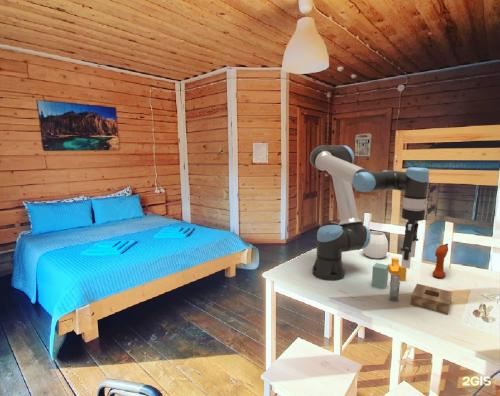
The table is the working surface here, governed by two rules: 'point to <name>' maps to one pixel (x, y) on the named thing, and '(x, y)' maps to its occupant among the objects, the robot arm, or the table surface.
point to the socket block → (431, 298)
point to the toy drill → (440, 260)
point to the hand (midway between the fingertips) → (408, 261)
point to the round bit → (394, 287)
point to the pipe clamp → (397, 269)
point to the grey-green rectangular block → (380, 275)
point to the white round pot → (376, 245)
